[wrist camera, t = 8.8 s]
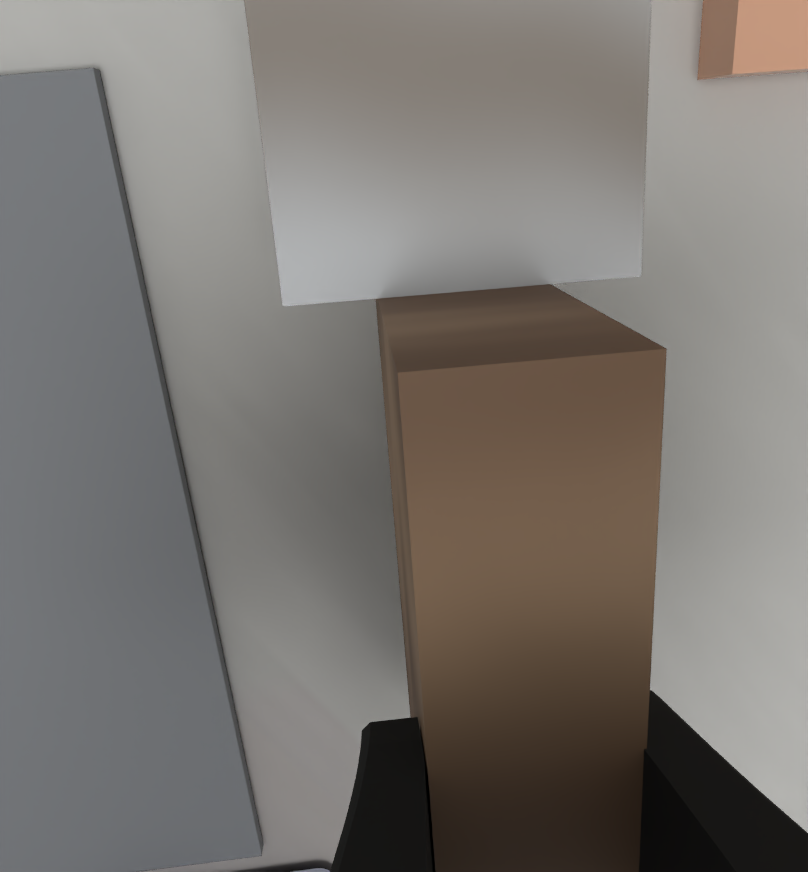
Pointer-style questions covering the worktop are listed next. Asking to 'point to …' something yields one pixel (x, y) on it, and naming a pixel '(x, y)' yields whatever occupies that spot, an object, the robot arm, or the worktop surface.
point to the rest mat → (97, 530)
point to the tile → (753, 38)
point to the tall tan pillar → (493, 382)
